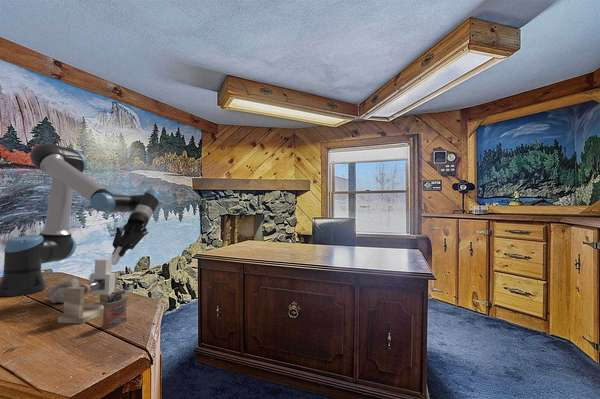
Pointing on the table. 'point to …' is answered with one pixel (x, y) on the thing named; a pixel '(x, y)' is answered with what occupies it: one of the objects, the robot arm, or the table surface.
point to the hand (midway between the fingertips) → (112, 262)
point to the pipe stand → (75, 303)
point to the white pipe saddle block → (103, 276)
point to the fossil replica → (61, 290)
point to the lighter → (114, 310)
